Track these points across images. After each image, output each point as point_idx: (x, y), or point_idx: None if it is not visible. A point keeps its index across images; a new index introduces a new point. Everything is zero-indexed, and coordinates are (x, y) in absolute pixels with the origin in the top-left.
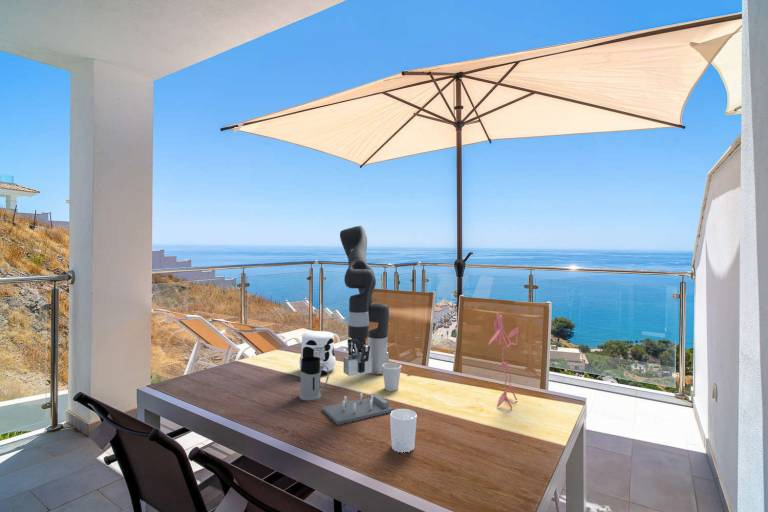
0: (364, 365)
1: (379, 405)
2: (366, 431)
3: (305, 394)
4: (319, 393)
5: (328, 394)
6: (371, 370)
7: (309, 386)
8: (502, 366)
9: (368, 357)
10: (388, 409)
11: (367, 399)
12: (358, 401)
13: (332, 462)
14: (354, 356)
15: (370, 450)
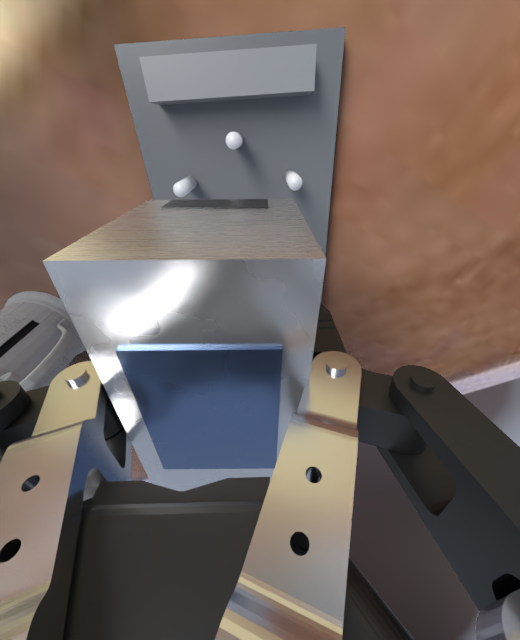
0: (341, 341)
1: (262, 98)
2: (411, 260)
3: (73, 357)
4: (52, 310)
5: (30, 264)
6: (296, 206)
7: (59, 369)
8: None
9: (486, 420)
10: (335, 71)
11: (156, 126)
12: (172, 189)
13: (469, 378)
14: (168, 436)
15: (508, 296)
